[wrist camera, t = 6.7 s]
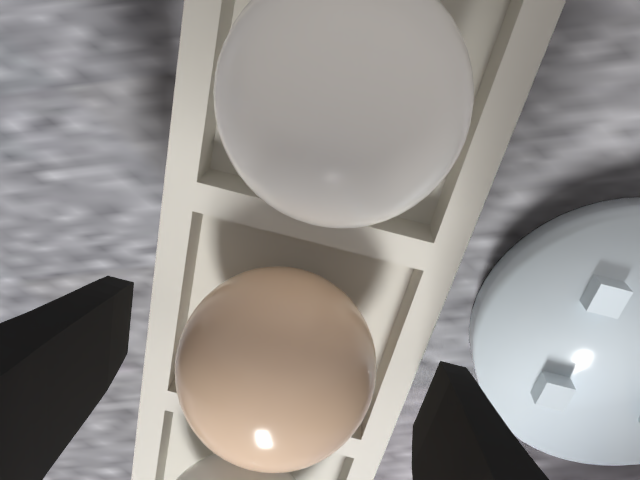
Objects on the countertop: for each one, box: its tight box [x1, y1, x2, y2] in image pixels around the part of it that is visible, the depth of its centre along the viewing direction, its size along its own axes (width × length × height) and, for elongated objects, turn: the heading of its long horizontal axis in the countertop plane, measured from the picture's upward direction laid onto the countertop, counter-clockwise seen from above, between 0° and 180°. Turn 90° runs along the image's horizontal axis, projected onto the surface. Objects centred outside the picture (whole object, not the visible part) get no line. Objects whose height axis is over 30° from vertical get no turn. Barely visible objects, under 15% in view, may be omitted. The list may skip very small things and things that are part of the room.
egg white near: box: [213, 0, 474, 228], centre depth 9 cm, size 4×4×4 cm
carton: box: [131, 0, 566, 480], centre depth 14 cm, size 7×19×3 cm, turn 167°
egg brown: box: [175, 266, 377, 473], centre depth 12 cm, size 4×4×4 cm
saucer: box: [469, 197, 640, 466], centre depth 14 cm, size 8×8×2 cm
